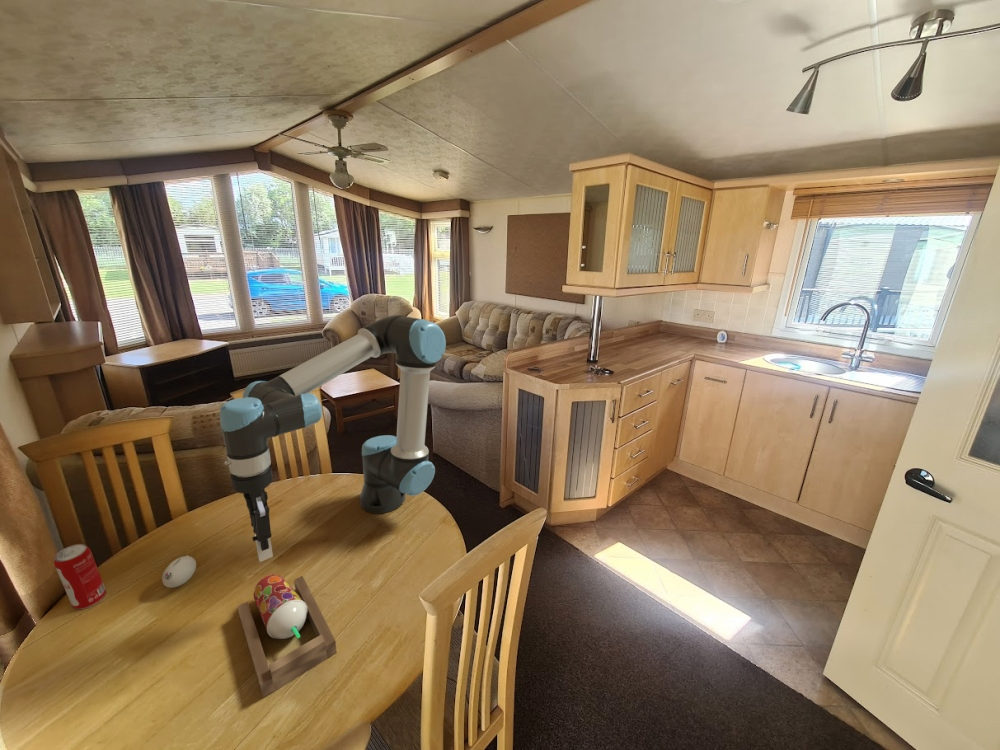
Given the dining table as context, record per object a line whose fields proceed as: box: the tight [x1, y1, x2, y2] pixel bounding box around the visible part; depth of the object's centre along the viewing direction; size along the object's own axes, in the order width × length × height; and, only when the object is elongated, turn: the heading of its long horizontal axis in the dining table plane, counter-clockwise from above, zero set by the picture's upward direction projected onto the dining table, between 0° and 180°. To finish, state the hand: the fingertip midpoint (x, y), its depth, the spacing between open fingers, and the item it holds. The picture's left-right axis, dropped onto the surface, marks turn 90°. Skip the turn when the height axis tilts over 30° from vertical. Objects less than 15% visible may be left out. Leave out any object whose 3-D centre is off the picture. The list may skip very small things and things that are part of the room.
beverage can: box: [53, 543, 107, 610], centre depth 91 cm, size 6×6×15 cm
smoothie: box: [253, 574, 307, 640], centre depth 89 cm, size 8×8×20 cm
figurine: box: [161, 554, 197, 588], centre depth 98 cm, size 8×6×7 cm
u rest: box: [237, 575, 338, 699], centre depth 87 cm, size 14×22×5 cm, turn 42°
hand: (265, 557), depth 91 cm, fingers closed
